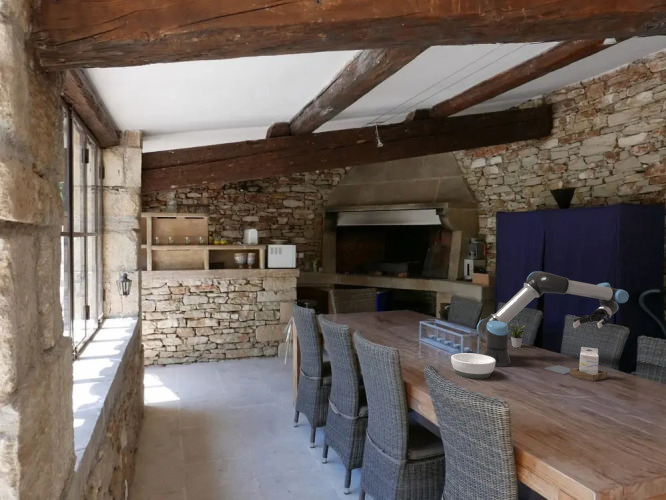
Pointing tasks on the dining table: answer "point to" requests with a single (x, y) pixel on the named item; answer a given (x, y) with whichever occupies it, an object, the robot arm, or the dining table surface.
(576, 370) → the wooden tray
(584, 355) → the ink box
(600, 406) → the dining table surface
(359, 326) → the dining table surface
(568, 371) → the slate mat
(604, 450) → the dining table surface
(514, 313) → the robot arm
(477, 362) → the bowl
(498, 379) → the dining table surface
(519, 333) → the house plant
